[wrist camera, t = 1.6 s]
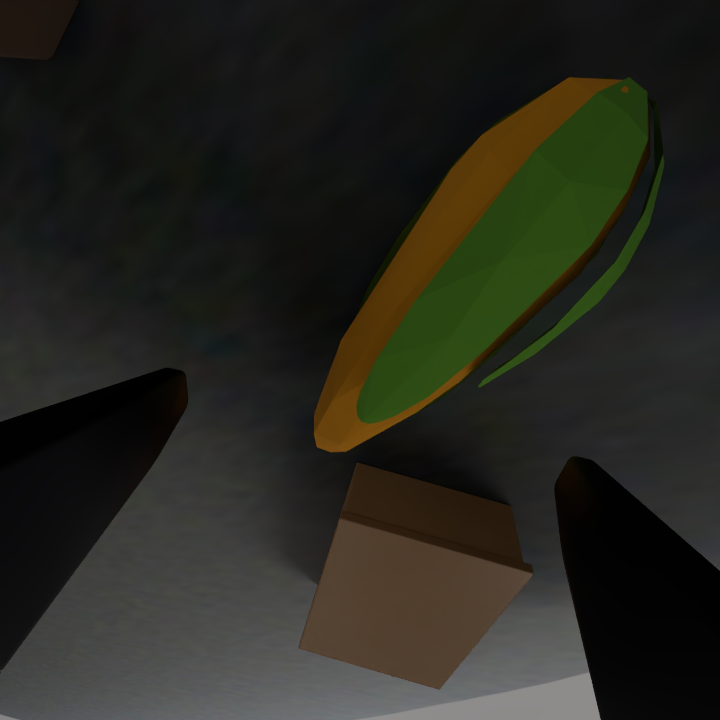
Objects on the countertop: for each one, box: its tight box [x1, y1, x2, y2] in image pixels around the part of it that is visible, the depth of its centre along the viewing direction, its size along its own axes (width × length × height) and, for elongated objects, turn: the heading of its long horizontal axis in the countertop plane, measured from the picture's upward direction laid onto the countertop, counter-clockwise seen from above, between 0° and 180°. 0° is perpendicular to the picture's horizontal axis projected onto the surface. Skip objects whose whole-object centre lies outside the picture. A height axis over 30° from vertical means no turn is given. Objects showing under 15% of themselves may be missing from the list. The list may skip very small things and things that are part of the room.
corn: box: [314, 77, 664, 452], centre depth 17 cm, size 7×8×20 cm
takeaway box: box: [299, 463, 534, 689], centre depth 29 cm, size 17×12×5 cm
